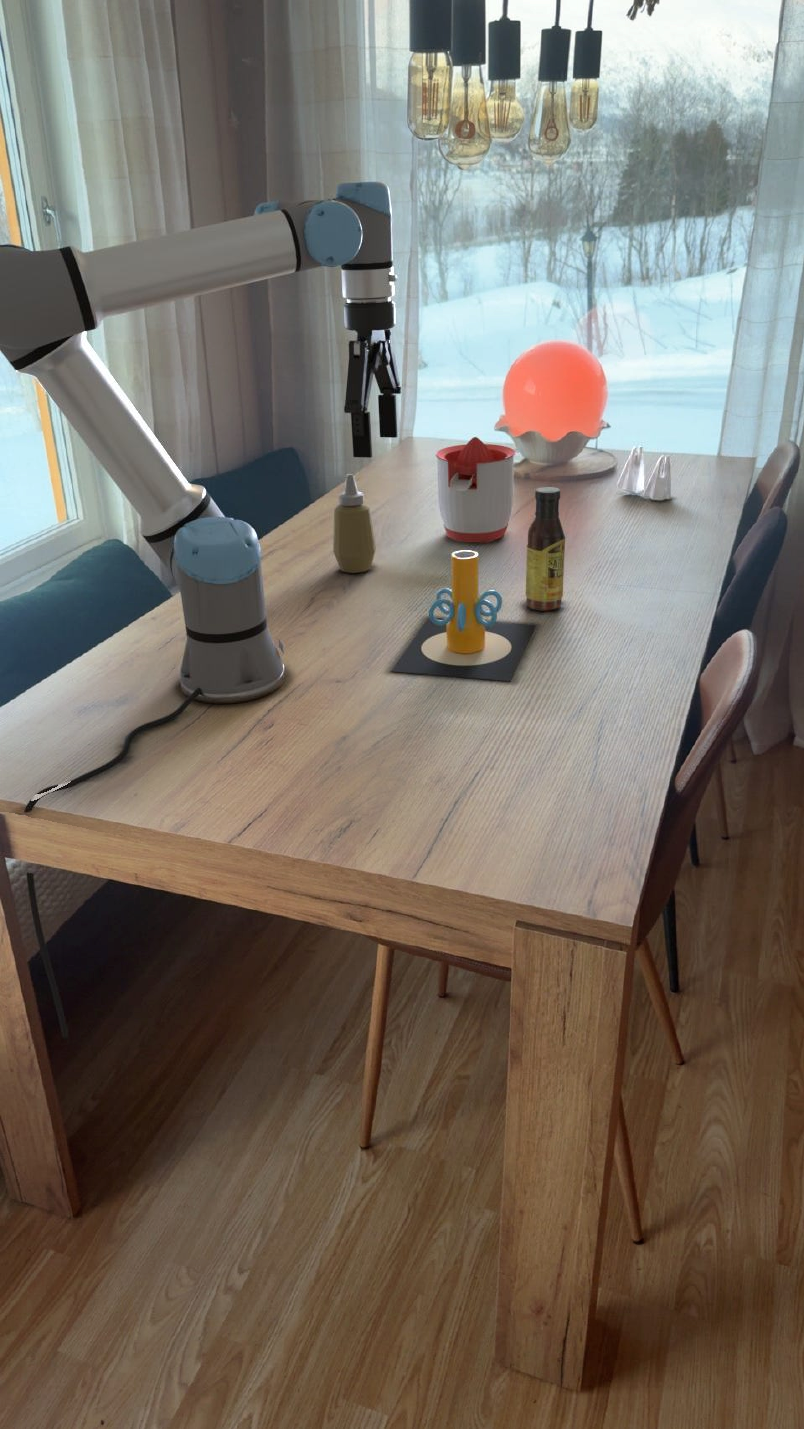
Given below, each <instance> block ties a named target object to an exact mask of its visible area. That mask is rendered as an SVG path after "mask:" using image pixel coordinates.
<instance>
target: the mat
mask: <svg viewBox="0 0 804 1429" xmlns="http://www.w3.org/2000/svg"><path fill="white" fill-rule="evenodd" d="M435 618H436V619H437V620H444V619H445V618H440V617H435ZM535 628H536V624H530V623H529V624H528V623H515V622H514V623H512V622H501V621H496V622H495V624H494V625H493V626H491V627H485V647H484V649H482V650H481V651H478V652H475V653H468V654H463V653H456V652H453V651H450V650H449V649H448V647H447V632H446V624H445V625H436V624H434V623H432V622H431V620H430V618H429V617H427V618H426V620H425V621H424V623H423V624H422V625H421V628H420V629H419V630H418V631H417V633H416V635H415V636H414V637H413V639H412V640H411V642H410V643H409V644H408V646H407V647H406V649H405V651H404V652H403V653H402V655H401V656H400V657H399V659H398V660H397V662H396V663H395V665H394V666H393V667H392V669H391V670H390V672H391V673H399V674H411V675H412V674H413V675H425V676H436V677H447V678H459V679H460V678H461V679H471V680H473V679H474V680H485V681H496V682H507V683H509V682H511V681H512V679H513V676H514V675H515V672H516V670H517V667H518V666H519V663H520V661H521V659H522V656H523V655H524V651H525V649H526V648H527V646H528V643H529V641H530V638H531V637H532V634H533V632H534V630H535Z"/></svg>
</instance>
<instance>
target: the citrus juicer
mask: <svg viewBox="0 0 804 1429" xmlns="http://www.w3.org/2000/svg"><path fill="white" fill-rule="evenodd" d="M515 455H516V452H515V450H514V449H513V448H512V447H510V446H505V445H500V444H492V443H491V444H490V443H484V442H483V441H482V440H481V439H480V438H479V437H477V436H473V437H472V438H470V440H469V441H468V442H467V443H466V444H458V445H451V446H447V447H444V448H442V449H439V450H438V451H437V452H436V454H435V456H436V458H437V460H436V461H437V465H436V466H437V495H438V496H437V497H438V508H439V513H440V517H441V520H442V523H443V527H444V530H445V533H446V534H447V537H448V538H449V539H451V540H453V541H457V542H464V543H482V544H487V543H490V542H491V541H495V540H499V539H501V538H502V537H503V536H504V535H505V534H506V531H507V529H508V527H509V522H510V518H511V515H512V509H513V504H514V461H515V460H514V459H515Z"/></svg>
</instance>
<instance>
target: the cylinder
mask: <svg viewBox="0 0 804 1429" xmlns="http://www.w3.org/2000/svg"><path fill="white" fill-rule="evenodd" d="M450 555H451V556H450V557H451V589H449V588H447V587H442V588H440V589H439V590H438V591H437V592H436V596H435V600H434V601H433V602H432V604H431V605H430V606H429V609H428V618H430V620H431V622H432V623H434V624H436V625H445V624H446V632H447V647H448V649H449V650H450V651H453V652H456V653H463V654H468V653H475V652H478V651H481V650H482V649H484V647H485V627H491V626H493V625H494V624H495V622H497V619H498V613H499V612H500V610H501V609H502V606H503V597H502V595H501V594H500V593H499V591H496V590H493V589H490V590H489V589H488V590H486V591H484V592H482V593H481V594H480V593H479V591H480V590H479V589H480V588H479V587H480V586H479V553H478V551H475V550H467V549H464V550H463V549H461V550H457V551H453V552H452V553H451V554H450ZM443 594H446V595H448V596H449V597H450V599H448V598H442V595H443ZM479 594H480V595H479ZM489 596H493V597H494V598H496V606H495V605H494V604H493V603H492V602H491V601H489V600H487V599H486V598H487V597H489ZM443 604H444V605H447V606H448V608H449V609H448V608H446V607H445V606H444V605H443ZM483 606H486V607H487V608H488V609H489V610H490V611H486V610H485V609H483ZM437 608H438V609H439V611H441V613H443V614H445V615H447V616H446V617H445V618H443V619H444V620H437V619H436V618H437V617H435V610H436V609H437ZM484 617H486V618H488V617H490V620H489V621H486V620H485V619H484Z"/></svg>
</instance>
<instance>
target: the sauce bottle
mask: <svg viewBox="0 0 804 1429" xmlns="http://www.w3.org/2000/svg"><path fill="white" fill-rule="evenodd" d="M534 494H535V496H534V498H535V512H534V514H535V518H534V519H533V521H532V522H531V523H530V526H529V527H528V531H527V544H526V566H525V570H526V571H525V597H526V600H525V604H526V606H527V607H528V608H529V609H531V610H535V611H539V612H545V611H546V612H547V611H553V610H556V609H559V608H560V607H561V605H562V600H563V596H564V578H565V576H564V574H565V552H566V550H565V549H566V536H565V532H564V530H563V525H562V522H561V520H560V513H559V512H560V510H559V508H560V500H561V490H560V489H559V488H557V487H553V486H548V487H547V486H545V487H544V486H543V487H538V488H536V489H535V492H534Z"/></svg>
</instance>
